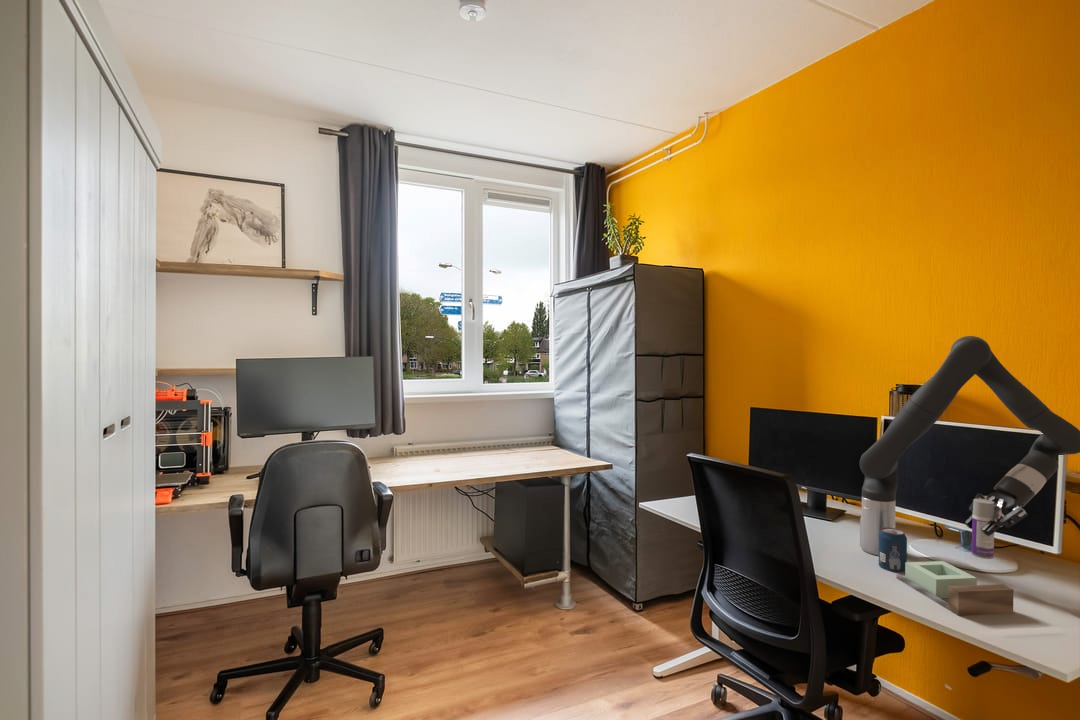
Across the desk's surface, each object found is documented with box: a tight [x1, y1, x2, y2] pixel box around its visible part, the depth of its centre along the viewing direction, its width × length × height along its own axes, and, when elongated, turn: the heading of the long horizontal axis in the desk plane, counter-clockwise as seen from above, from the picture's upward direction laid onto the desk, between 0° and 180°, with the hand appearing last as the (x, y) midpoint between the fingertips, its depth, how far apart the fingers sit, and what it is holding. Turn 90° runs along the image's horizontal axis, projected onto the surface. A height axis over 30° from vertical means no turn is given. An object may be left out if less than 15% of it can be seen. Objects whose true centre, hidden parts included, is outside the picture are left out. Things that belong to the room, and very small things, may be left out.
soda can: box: [878, 527, 908, 573], centre depth 161 cm, size 7×7×12 cm
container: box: [971, 498, 995, 560], centre depth 149 cm, size 5×5×15 cm
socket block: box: [904, 560, 978, 599], centre depth 147 cm, size 11×11×5 cm
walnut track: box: [895, 574, 1015, 617], centre depth 143 cm, size 23×14×7 cm, turn 3°
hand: (976, 529), depth 149 cm, fingers closed on container, 4 cm apart
